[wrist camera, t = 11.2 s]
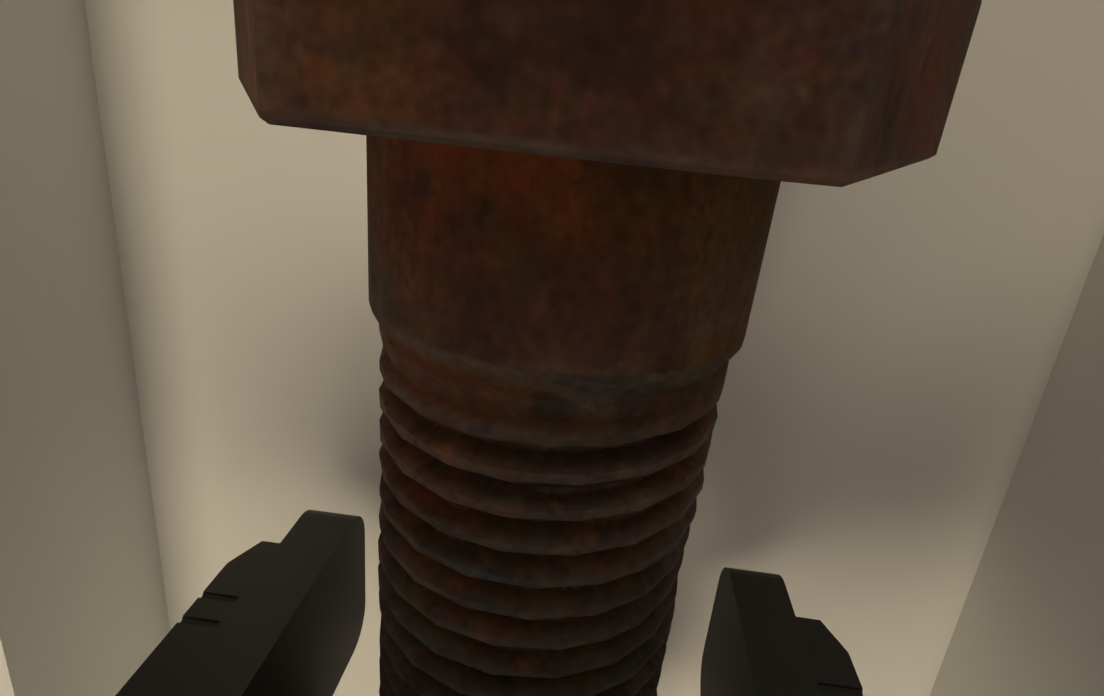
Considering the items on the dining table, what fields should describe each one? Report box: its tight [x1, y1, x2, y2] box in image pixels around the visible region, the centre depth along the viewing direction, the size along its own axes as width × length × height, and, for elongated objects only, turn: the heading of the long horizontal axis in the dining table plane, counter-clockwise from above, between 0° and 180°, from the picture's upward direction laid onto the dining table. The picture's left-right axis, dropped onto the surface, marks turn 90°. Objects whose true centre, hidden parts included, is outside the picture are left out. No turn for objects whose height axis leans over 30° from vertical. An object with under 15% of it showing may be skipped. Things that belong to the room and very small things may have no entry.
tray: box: [0, 0, 1104, 696], centre depth 10 cm, size 16×21×4 cm
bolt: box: [233, 0, 982, 696], centre depth 8 cm, size 6×5×15 cm
